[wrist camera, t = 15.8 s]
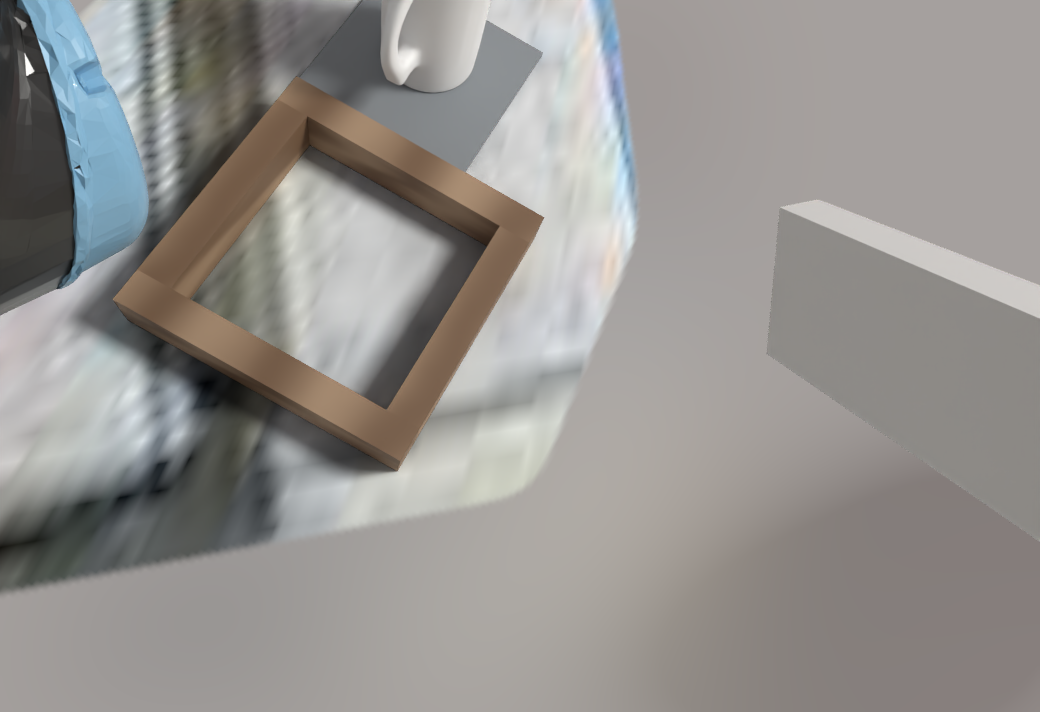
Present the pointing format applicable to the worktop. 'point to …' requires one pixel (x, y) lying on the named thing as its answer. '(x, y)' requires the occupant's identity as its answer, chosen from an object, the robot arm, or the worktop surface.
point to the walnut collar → (236, 200)
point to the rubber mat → (415, 114)
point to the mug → (431, 41)
